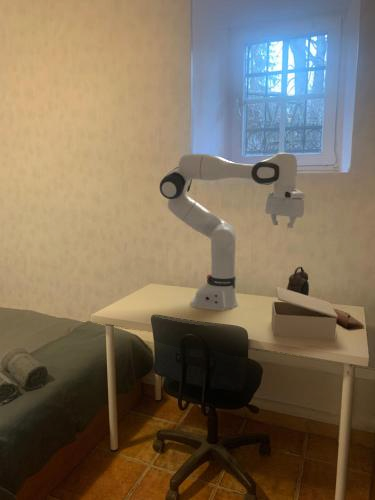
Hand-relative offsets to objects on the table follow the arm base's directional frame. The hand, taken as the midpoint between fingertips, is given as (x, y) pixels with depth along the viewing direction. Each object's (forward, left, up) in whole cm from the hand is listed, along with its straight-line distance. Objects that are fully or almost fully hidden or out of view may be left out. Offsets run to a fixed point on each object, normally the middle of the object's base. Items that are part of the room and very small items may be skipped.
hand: (282, 226), depth 160 cm
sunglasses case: (+28, -1, -41) cm, 50 cm away
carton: (+8, -16, -40) cm, 44 cm away
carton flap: (+19, -16, -30) cm, 39 cm away
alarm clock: (+10, +13, -41) cm, 43 cm away
